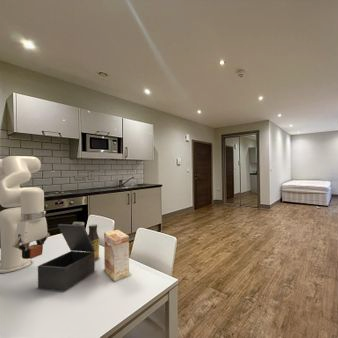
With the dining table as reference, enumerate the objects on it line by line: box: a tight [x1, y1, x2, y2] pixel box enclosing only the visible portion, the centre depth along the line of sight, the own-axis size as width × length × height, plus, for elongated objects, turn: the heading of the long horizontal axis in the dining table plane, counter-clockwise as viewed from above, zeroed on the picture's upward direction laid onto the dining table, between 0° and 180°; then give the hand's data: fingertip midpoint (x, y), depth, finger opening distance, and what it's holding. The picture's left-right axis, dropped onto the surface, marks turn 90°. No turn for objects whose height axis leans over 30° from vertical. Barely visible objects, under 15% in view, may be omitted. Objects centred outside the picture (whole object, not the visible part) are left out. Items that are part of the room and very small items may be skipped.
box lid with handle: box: [57, 221, 95, 252], centre depth 97 cm, size 16×14×5 cm
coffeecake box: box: [103, 229, 130, 282], centre depth 96 cm, size 15×7×20 cm, turn 47°
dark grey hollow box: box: [37, 250, 96, 292], centre depth 90 cm, size 16×14×10 cm
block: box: [28, 244, 43, 260], centre depth 88 cm, size 4×4×4 cm
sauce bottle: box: [87, 223, 100, 261], centre depth 110 cm, size 7×6×20 cm
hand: (32, 255), depth 88 cm, fingers closed on block, 4 cm apart
